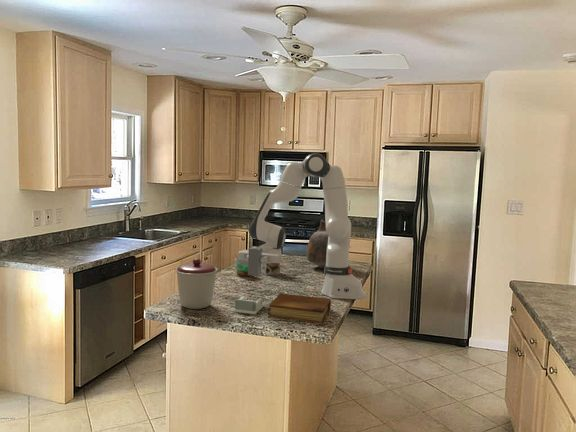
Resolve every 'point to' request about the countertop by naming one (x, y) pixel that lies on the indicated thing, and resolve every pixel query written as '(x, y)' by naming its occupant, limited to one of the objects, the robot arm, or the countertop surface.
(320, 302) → the diary
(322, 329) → the countertop surface
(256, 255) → the grey block with knob
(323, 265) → the jug
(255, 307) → the pocket
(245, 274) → the food container
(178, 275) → the canister
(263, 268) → the coffee box
